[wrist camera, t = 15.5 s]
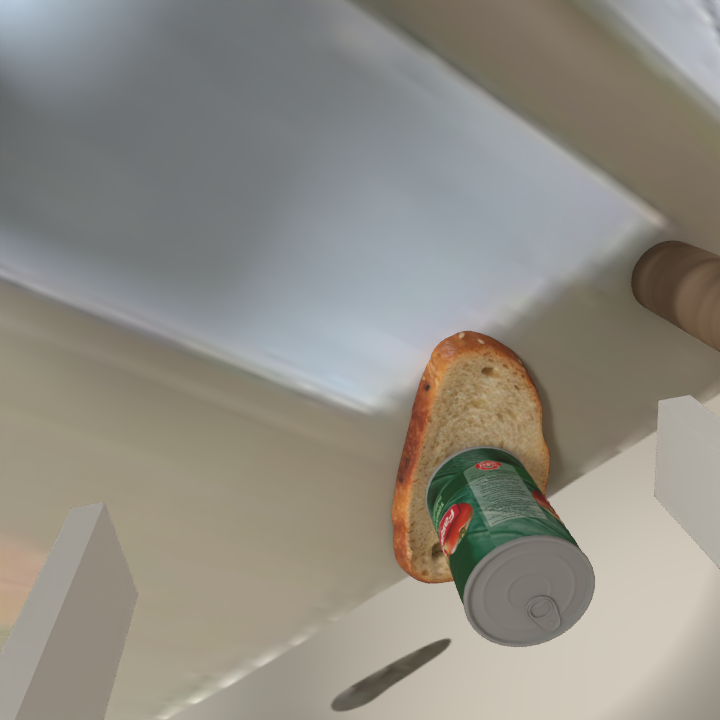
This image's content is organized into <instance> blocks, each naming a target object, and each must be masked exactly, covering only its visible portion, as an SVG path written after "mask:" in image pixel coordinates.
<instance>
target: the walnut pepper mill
mask: <svg viewBox="0 0 720 720" xmlns="http://www.w3.org/2000/svg"><path fill="white" fill-rule="evenodd" d="M631 283H632V291H633V294H634V296H635V298H636V299H637V301H638V302H639V303H640V304H641V305H643V306H644V307H646V308H647V309H649V310H651V311H652V312H654V313H656V314H657V315H659V316H661V317H662V318H664V319H666V320H667V321H669V322H671V323H672V324H674V325H676V326H677V327H679V328H681V329H682V330H684V331H686V332H687V333H689V334H691V335H692V336H694V337H696V338H697V339H699V340H701V341H702V342H704V343H706V344H707V345H709V346H711V347H712V348H714V349H716V350H717V351H719V352H720V256H718V255H715V254H713V253H710V252H707V251H705V250H702V249H699V248H697V247H694V246H691V245H689V244H686V243H683V242H679V241H666V242H662V243H660V244H657V245H655V246H653V247H652V248H650V249H649V250H648V251H647V252H645V253H644V254H643V255H642V257H641V258H640V259H639V261H638V262H637V264H636V266H635V268H634V271H633V274H632V282H631Z"/></svg>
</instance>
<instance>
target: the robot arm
mask: <svg viewBox="0 0 720 720" xmlns="http://www.w3.org/2000/svg"><path fill="white" fill-rule="evenodd" d="M654 496H655V497H656V499H657V500H658V501H659V502H660V503H661V504H662V505H663V506H664V507H665V509H666V510H667V511H668V512H669V513H670V514H671V515H672V516H673V518H675V520H676V521H677V522H678V523H679V524H680V525H681V526H682V527H683V529H685V531H686V532H687V533H688V534H689V535H690V536H691V538H692V539H693V540H694V541H695V542H696V543H697V544H698V545H699V546H700V548H701V549H702V550H703V551H704V552H705V553H706V554H707V555H708V556H709V558H710V559H711V560H712V561H713V562H714V563H715V564H716V565H717V566H718V568H719V569H720V418H719V417H718V416H716V415H715V414H714V413H713V412H711V411H710V410H709V409H707V408H706V407H705V406H703V405H702V404H701V403H700V402H698V401H697V400H696V399H694V398H693V397H692V396H691V395H687V396H681V397H676V398H670V399H665V400H659V406H658V428H657V449H656V471H655V491H654ZM137 597H138V592H137V589H136V586H135V584H134V581H133V578H132V575H131V573H130V570H129V567H128V564H127V562H126V559H125V556H124V553H123V551H122V548H121V545H120V542H119V540H118V537H117V534H116V531H115V528H114V526H113V523H112V520H111V517H110V515H109V512H108V509H107V506H106V504H105V502H102V503H96V504H91V505H85V506H80V507H74V508H71V509H70V512H69V514H68V516H67V518H66V520H65V522H64V524H63V526H62V528H61V530H60V532H59V534H58V536H57V538H56V540H55V542H54V544H53V546H52V549H51V551H50V553H49V555H48V557H47V559H46V561H45V563H44V565H43V567H42V569H41V571H40V573H39V575H38V577H37V579H36V581H35V583H34V586H33V588H32V590H31V592H30V594H29V596H28V598H27V600H26V602H25V604H24V606H23V608H22V610H21V612H20V614H19V616H18V618H17V620H16V623H15V625H14V627H13V629H12V631H11V633H10V635H9V637H8V639H7V641H6V643H5V645H4V647H3V649H2V651H1V653H0V720H104V716H105V713H106V709H107V706H108V702H109V698H110V695H111V691H112V687H113V684H114V680H115V676H116V673H117V669H118V666H119V662H120V658H121V655H122V651H123V647H124V644H125V640H126V637H127V633H128V629H129V626H130V622H131V618H132V615H133V611H134V607H135V604H136V600H137Z"/></svg>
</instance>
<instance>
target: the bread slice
mask: <svg viewBox="0 0 720 720" xmlns="http://www.w3.org/2000/svg"><path fill="white" fill-rule="evenodd" d="M479 445H491V446H495V447H500V448H503V449H505V450H507V451H509V452H511V453H512V454H514V455H515V456H517V457H518V459H519V460H520V461H521V462H522V463H523V464H524V466H525V468H526V470H527V472H528V473H529V474H530V476H531V477H532V478H533V480H534V481H535V483H536V484H537V486H538V487H539V489H540V490H541V492H542V493H543V494H544V496H545V492H546V484H547V480H548V475H549V463H550V453H549V450H548V447H547V444H546V442H545V440H544V437H543V433H542V404H541V400H540V398H539V395H538V391H537V388H536V386H535V384H534V382H533V380H532V378H531V376H530V374H529V373H528V371H527V369H526V368H525V366H524V364H523V363H522V361H521V360H520V359H519V358H518V356H517V355H516V354H515V353H514V352H513V351H512V350H511V349H509V348H508V347H506V346H505V345H503V344H502V343H500V342H498V341H497V340H495V339H493V338H491V337H489V336H486V335H483V334H480V333H476V332H472V331H464V332H460V333H457V334H455V335H453V336H451V337H448V338H446V339H444V340H443V341H442V342H441V343H440V344H439V345H438V346H437V347H436V348H435V349H434V351H433V352H432V355H431V359H430V361H429V363H428V364H427V366H426V369H425V371H424V374H423V376H422V379H421V381H420V384H419V388H418V391H417V395H416V398H415V402H414V405H413V409H412V416H411V420H410V424H409V428H408V432H407V437H406V441H405V445H404V448H403V453H402V457H401V461H400V465H399V469H398V474H397V480H396V486H395V493H394V500H393V504H392V522H393V529H394V532H393V534H394V535H393V542H394V552H395V557H396V560H397V562H398V564H399V565H400V566H401V568H402V569H403V570H404V571H405V572H406V573H407V574H409V575H410V576H411V577H413V578H414V579H416V580H418V581H421V582H425V583H443V582H450V581H454V580H453V577H452V574H451V572H450V569H449V566H448V564H447V561H446V558H445V555H444V553H443V550H442V547H441V544H440V542H439V539H438V536H437V534H436V531H435V529H434V526H433V523H432V519H431V518H430V516H429V514H428V511H427V508H426V500H425V494H426V487H427V485H428V482H429V479H430V477H431V475H432V474H433V472H434V470H435V469H436V468H437V467H438V466H439V465H440V464H441V462H443V461H444V460H445V459H446V458H448V457H449V456H450V455H452V454H454V453H456V452H458V451H459V450H462V449H465V448H468V447H473V446H479Z"/></svg>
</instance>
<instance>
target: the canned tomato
mask: <svg viewBox="0 0 720 720" xmlns="http://www.w3.org/2000/svg"><path fill="white" fill-rule="evenodd" d="M425 500H426V508H427V511H428V514H429V516H430V518H431V519H432V523H433V526H434V529H435V531H436V534H437V536H438V539H439V542H440V544H441V547H442V550H443V553H444V555H445V558H446V561H447V564H448V566H449V569H450V572H451V574H452V577H453V580H454V582H455V584H456V588H457V590H458V593H459V596H460V599H461V601H462V603H463V605H464V610H465V613H466V616H467V619H468V621H469V622H470V624H471V625H472V627H473V628H474V630H476V632H478V633H479V634H480V635H481V636H482V637H484V638H486V639H487V640H489V641H491V642H494V643H497V644H500V645H504V646H511V647H526V646H532V645H537V644H541V643H544V642H546V641H549V640H552V639H553V638H556V637H557V636H559V635H561V634H563V633H564V632H565V631H567V630H568V629H570V628H571V627H572V626H573V625H574V624H575V623H576V622H577V621H578V620H579V619H580V618H581V617H582V615H583V614H584V613H585V611H586V610H587V608H588V606H589V604H590V602H591V600H592V596H593V593H594V588H595V576H594V572H593V567H592V565H591V564H590V562H589V560H588V558H587V556H586V555H585V554H584V553H583V552H582V551H581V549H580V548H579V546H578V545H577V543H576V541H575V540H574V538H573V537H572V536H571V534H570V533H569V531H568V530H567V529H566V527H565V525H564V523H563V522H562V521H561V520H560V518H559V516H558V515H557V514H556V512H555V511H554V509H553V508H552V507H551V505H550V503H549V502H548V501H547V499H546V497H545V496H544V494H543V493H542V492H541V490H540V489H539V487H538V486H537V484H536V483H535V481H534V480H533V478H532V477H531V476H530V474H529V473H528V472H527V470H526V468H525V466H524V464H523V463H522V462H521V461H520V460H519V459H518V457H517V456H515V455H514V454H512V453H511V452H509V451H507V450H505V449H503V448H500V447H495V446H491V445H479V446H473V447H468V448H465V449H462V450H459V451H458V452H456V453H454V454H452V455H450V456H449V457H448V458H446V459H445V460H444V461H443V462H441V464H440V465H439V466H438V467H437V468H436V469H435V470H434V472H433V474H432V475H431V477H430V479H429V482H428V485H427V487H426V494H425Z"/></svg>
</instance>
